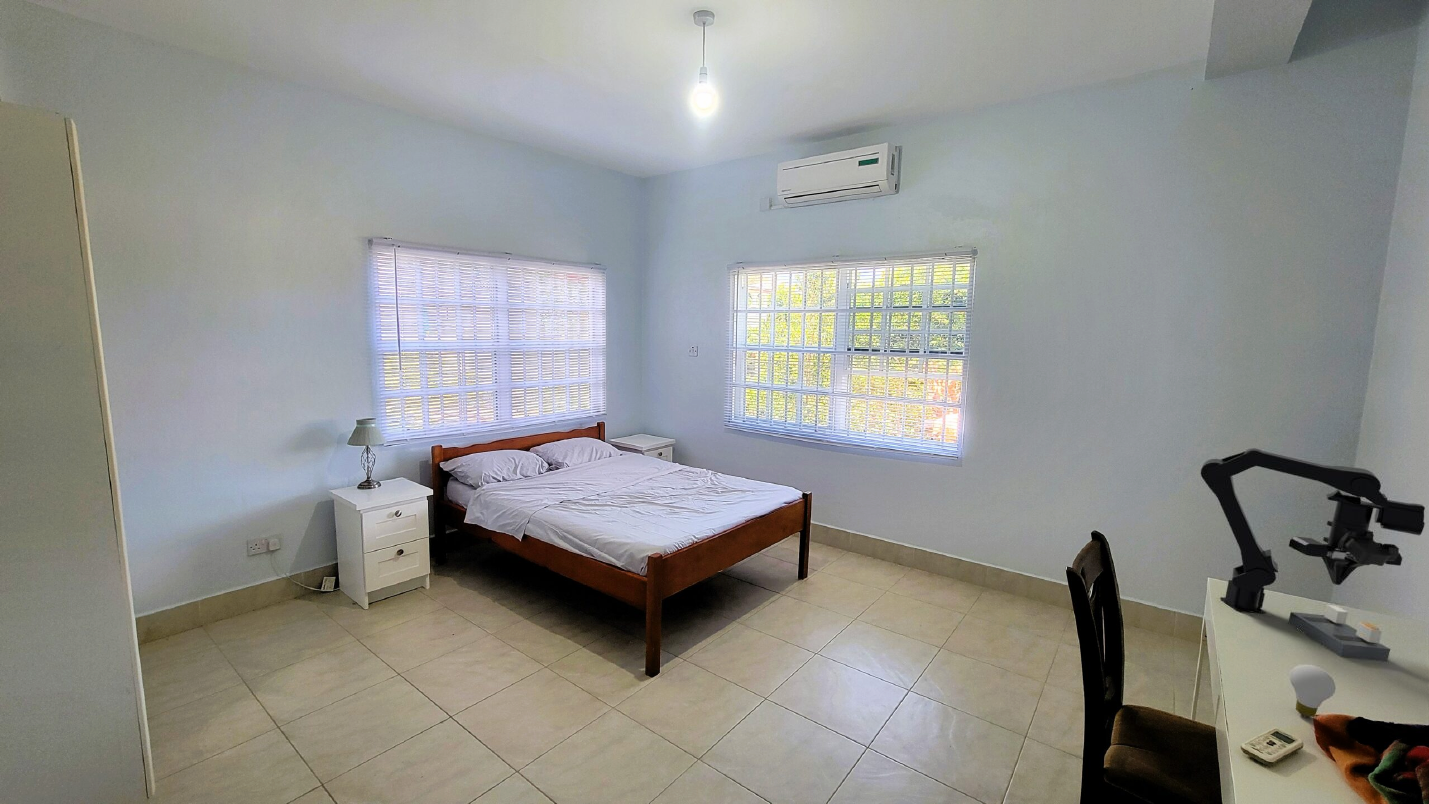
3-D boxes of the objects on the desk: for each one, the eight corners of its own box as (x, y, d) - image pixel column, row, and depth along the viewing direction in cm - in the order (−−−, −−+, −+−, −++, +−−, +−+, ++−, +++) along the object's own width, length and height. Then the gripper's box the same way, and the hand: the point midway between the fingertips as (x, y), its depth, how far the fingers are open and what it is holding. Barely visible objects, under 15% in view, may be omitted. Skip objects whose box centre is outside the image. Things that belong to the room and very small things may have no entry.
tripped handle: (1368, 642, 127) (1371, 628, 127) (1355, 634, 130) (1358, 621, 130) (1379, 643, 127) (1382, 629, 127) (1365, 635, 130) (1369, 622, 130)
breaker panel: (1340, 656, 127) (1343, 644, 127) (1288, 623, 141) (1290, 611, 140) (1387, 661, 126) (1390, 648, 126) (1329, 627, 140) (1332, 615, 139)
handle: (1335, 622, 135) (1338, 611, 135) (1324, 616, 138) (1326, 604, 138) (1345, 623, 135) (1347, 612, 134) (1333, 617, 138) (1336, 605, 137)
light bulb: (1336, 729, 104) (1348, 679, 102) (1298, 724, 105) (1309, 674, 103) (1310, 708, 110) (1321, 660, 108) (1274, 702, 111) (1284, 655, 109)
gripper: (1332, 530, 128) (1317, 595, 131) (1434, 540, 124) (1416, 606, 127) (1293, 513, 139) (1280, 573, 141) (1386, 522, 135) (1371, 583, 138)
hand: (1336, 584), depth 137 cm, fingers closed
